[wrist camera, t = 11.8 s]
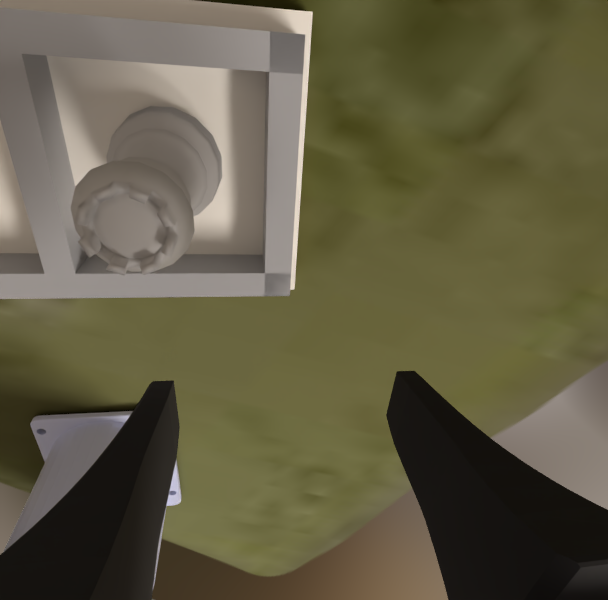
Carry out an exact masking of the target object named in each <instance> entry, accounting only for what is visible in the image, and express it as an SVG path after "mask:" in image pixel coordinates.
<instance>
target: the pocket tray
mask: <svg viewBox="0 0 608 600" xmlns="http://www.w3.org/2000/svg"><path fill="white" fill-rule="evenodd" d="M312 13H313V12H309V11H298V10H288V9H278V8H267V7H257V6H247V5H236V4H226V3H216V2H206V1H195V0H0V299H36V298H132V297H227V296H290V289H294V287H295V272H296V257H297V242H298V226H299V211H300V196H301V181H302V165H303V150H304V135H305V120H306V104H307V89H308V74H309V59H310V43H311V28H312ZM150 106H158V107H174V108H176V109H178V110H181V111H183V112H185V113H187V114H189V115H191V116H193V117H195V118H197V119H198V121H199V122H200V123H201V124H202V125H203V126H204V127H205V128H206V129H207V130H208V131H209V132H210V133H211V134H212V135H213V137H214V140H215V142H216V144H217V147H218V149H219V151H220V153H221V156H222V179H221V182H220V184H219V187H218V189H217V192H216V195H215V196H214V199H213V201H212V202H211V203H210V204H209V205H208V206H207V207H206V208H205V209H204V210H203V211H202V212H201V213H200V214H198V215H196V216H194V229H195V232H194V235H193V238H192V240H191V243H190V245H189V248H188V251H187V252H185V253H184V254H183V255H182V256H181V257H180V258H179V259H178V260H177V261H176V262H175V263H174V264H172V265H170V266H167V267H164V268H162V269H160V270H157V271H154V272H152V273H149V274H146V275H143V274H142V272H131V271H128V270H127V272H126V274H125V276H124V275H121V274H118V273H115V272H112V271H108V270H106V268H107V266H108V265H109V264H108V263H107V262H105V261H104V260H102V259H101V258H100V257H98V256H97V255H96V254H95V255H93V256H91V257H90V258H89V257H88V255H87V254H86V253H85V251H84V250H83V248H82V247H81V245H80V244H79V243H78V241H79V240H80V239H81V237H80V236H79V234H78V233H77V232H76V230H75V225H74V221H73V217H72V212H71V204H72V199H73V195H74V191H75V186H76V185H77V184H78V183H79V182H80V181H81V180H82V178H83V177H84V176H85V175H86V174H87V173H88V172H89V171H90V170H91V169H93V168H96V167H98V166H101V165H103V164H106V163H107V153H108V149H109V145H110V141H111V137H112V135H113V134H114V133H115V131H116V130H117V129H118V128H119V126H120V125H121V124H122V123H123V122H124V121H125V120H126V118H127V117H128V116H129V115H130V114H132V113H135V112H137V111H140V110H142V109H145V108H147V107H150Z"/></svg>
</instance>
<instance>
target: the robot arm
mask: <svg viewBox="0 0 608 600" xmlns="http://www.w3.org/2000/svg"><path fill="white" fill-rule="evenodd" d="M386 416H387V420H388V424H389V427H390V431H391V435H392V438H393V442H394V445H395V447H396V450H397V452H398V455H399V457H400V459H401V462H402V464H403V467H404V469H405V471H406V474H407V476H408V479H409V481H410V483H411V486H412V488H413V490H414V493H415V495H416V498H417V500H418V502H419V505H420V507H421V510H422V512H423V515H424V518H425V520H426V524H427V527H428V530H429V533H430V537H431V540H432V543H433V546H434V549H435V553H436V556H437V559H438V563H439V566H440V570H441V573H442V577H443V581H444V584H445V588H446V592H447V596H448V599H449V600H608V510H607V509H605V508H603V507H601V506H599V505H596V504H595V503H593V502H591V501H589V500H587V499H585V498H583V497H582V496H579V495H578V494H576V493H574V492H572V491H570V490H568V489H567V488H565V487H563V486H562V485H560V484H558V483H556V482H555V481H553V480H551V479H550V478H548V477H546V476H545V475H543V474H542V473H540V472H538V471H537V470H535V469H533V468H532V467H530V466H529V465H527V464H525V463H524V462H523V461H521V460H520V459H518V458H517V457H515V456H514V455H513V454H511V453H510V452H508V451H507V450H506V449H504V448H502V447H501V446H500V445H499V444H497V443H496V442H495V441H493V440H492V439H491V438H489V437H488V436H487V435H486V434H485V433H483V432H482V431H481V430H480V429H478V428H477V427H476V426H475V425H473V424H472V423H471V422H470V421H469V420H468V419H466V418H465V417H464V416H463V415H462V414H461V413H459V412H458V411H457V410H456V409H455V408H454V407H453V406H452V405H451V404H449V403H448V402H447V401H446V400H445V399H444V398H443V397H442V396H441V395H440V394H439V393H438V392H437V391H435V390H434V389H433V388H432V387H431V386H430V385H429V384H428V383H427V382H426V381H425V380H424V379H423V378H422V377H421V376H419V375H418V374H417V373H416V372H415V371H398V372H397V373H396V377H395V382H394V386H393V390H392V394H391V398H390V402H389V406H388V410H387V415H386ZM30 426H31V429H32V431H33V434H34V436H35V439H36V441H37V444H38V446H39V449H40V451H41V454H42V457H43V459H44V462H45V464H44V466H43V468H42V470H41V472H40V474H39V476H38V479H37V481H36V483H35V485H34V487H33V489H32V491H31V494H30V496H29V498H28V500H27V502H26V505H25V507H24V509H23V511H22V513H21V515H20V517H19V519H18V522H17V524H16V526H15V528H14V530H13V532H12V535H11V537H10V539H9V541H8V543H7V545H6V547H5V549H4V552H3V553H2V554H1V555H0V600H153V599H152V592H153V587H154V582H155V575H156V570H157V563H158V557H159V550H160V544H161V538H162V531H163V525H164V518H165V512H166V506H170V505H177V504H179V503H180V502H181V497H182V496H181V489H180V482H179V475H178V468H177V460H176V457H177V448H178V438H179V419H178V411H177V403H176V395H175V387H174V381H153V382H152V383H151V384H150V385H149V386H148V388H147V390H146V392H145V393H144V395H143V396H142V398H141V400H140V401H139V403H138V404H137V406H136V407H135V409H134V410H133V411H121V412H102V413H82V414H62V415H42V416H36V417H34V418H33V420H32V421H31V423H30ZM43 429H44V430H43Z"/></svg>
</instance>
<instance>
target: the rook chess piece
mask: <svg viewBox="0 0 608 600" xmlns="http://www.w3.org/2000/svg"><path fill="white" fill-rule="evenodd" d="M221 179H222V156H221V153H220V151H219V149H218V147H217V144H216V142H215V140H214V137H213V135H212V134H211V133H210V132H209V131H208V130H207V129H206V128H205V127H204V126H203V125H202V124H201V123H200V122H199V121H198V119H197V118H195V117H193V116H191V115H189V114H187V113H185V112H183V111H181V110H178V109H176V108H174V107H158V106H150V107H147V108H145V109H142V110H140V111H137V112H135V113H132V114H130V115H129V116H128V117H127V118H126V120H125V121H124V122H123V123H122V124H121V125H120V126H119V128H118V129H117V130H116V131H115V133H114V134H113V135H112V137H111V141H110V145H109V149H108V153H107V163H106V164H103V165H101V166H98V167H96V168H93V169H91V170H90V171H89V172H88V173H87V174H86V175H85V176H84V177H83V178H82V180H81V181H80V182H79V183H78V184H77V185H76V186H75V191H74V195H73V199H72V204H71V212H72V217H73V221H74V225H75V230H76V232H77V233H78V234H79V236H80V237H81V239H80V240H79V241H78V243H79V244H80V245H81V247H82V248H83V250H84V251H85V253H86V254H87V255H88V257H89V258H90V257H91V256H93V255H95V254H96V255H97V256H98V257H100V258H101V259H102V260H104V261H105V262H107V263H108V264H109V265H108V266H107V268H106V270H108V271H112V272H115V273H118V274H121V275H124V276H125V274H126V272H127V270H128V271H131V272H142V274H143V275H146V274H149V273H152V272H154V271H157V270H160V269H162V268H164V267H167V266H170V265H172V264H174V263H175V262H176V261H177V260H178V259H179V258H180V257H181V256H182V255H183V254H184V253H185V252H187V251H188V248H189V245H190V243H191V240H192V238H193V235H194V232H195V229H194V216H196V215H198V214H200V213H201V212H202V211H203V210H204V209H205V208H206V207H207V206H208V205H209V204H210V203H211V202H212V201H213V199H214V196H215V195H216V192H217V189H218V187H219V184H220V182H221Z"/></svg>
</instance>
